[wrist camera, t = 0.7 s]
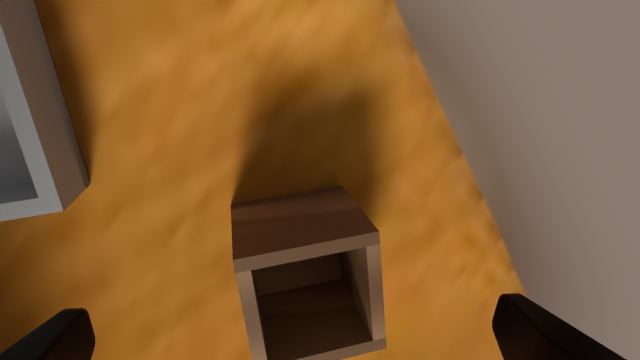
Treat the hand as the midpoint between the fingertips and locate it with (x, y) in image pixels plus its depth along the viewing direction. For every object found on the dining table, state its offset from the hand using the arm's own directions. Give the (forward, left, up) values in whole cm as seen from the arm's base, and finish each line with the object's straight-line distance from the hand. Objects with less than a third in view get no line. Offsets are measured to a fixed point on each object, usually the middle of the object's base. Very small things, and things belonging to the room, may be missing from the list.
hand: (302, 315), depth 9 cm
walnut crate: (-5, -1, -13) cm, 14 cm away
